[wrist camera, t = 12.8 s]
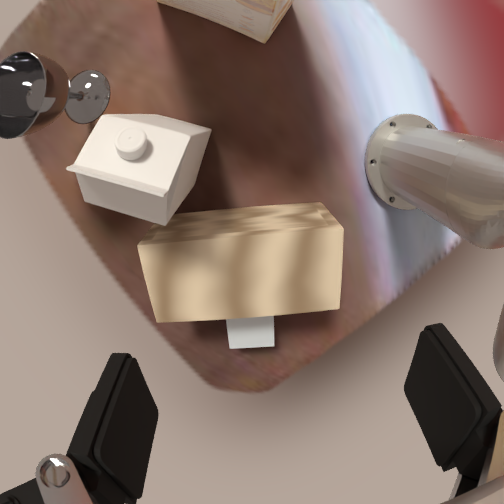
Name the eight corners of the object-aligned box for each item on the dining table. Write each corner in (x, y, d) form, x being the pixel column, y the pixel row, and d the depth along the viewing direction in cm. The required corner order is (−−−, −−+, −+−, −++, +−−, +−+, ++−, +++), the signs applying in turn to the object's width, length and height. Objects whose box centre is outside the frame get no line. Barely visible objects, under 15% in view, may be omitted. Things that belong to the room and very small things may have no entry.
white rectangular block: (268, 219, 39) (271, 234, 35) (271, 324, 46) (274, 346, 41) (220, 222, 39) (216, 237, 35) (230, 326, 46) (229, 348, 41)
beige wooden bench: (320, 202, 38) (343, 228, 29) (320, 268, 42) (339, 308, 33) (160, 215, 38) (137, 245, 30) (173, 280, 42) (156, 322, 33)
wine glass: (117, 115, 33) (50, 120, 19) (66, 134, 33) (-10, 151, 20) (108, 58, 30) (41, 35, 16) (57, 79, 30) (-19, 75, 17)
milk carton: (194, 185, 37) (151, 247, 20) (140, 169, 36) (59, 217, 19) (212, 129, 34) (179, 139, 17) (155, 113, 33) (76, 114, 16)
